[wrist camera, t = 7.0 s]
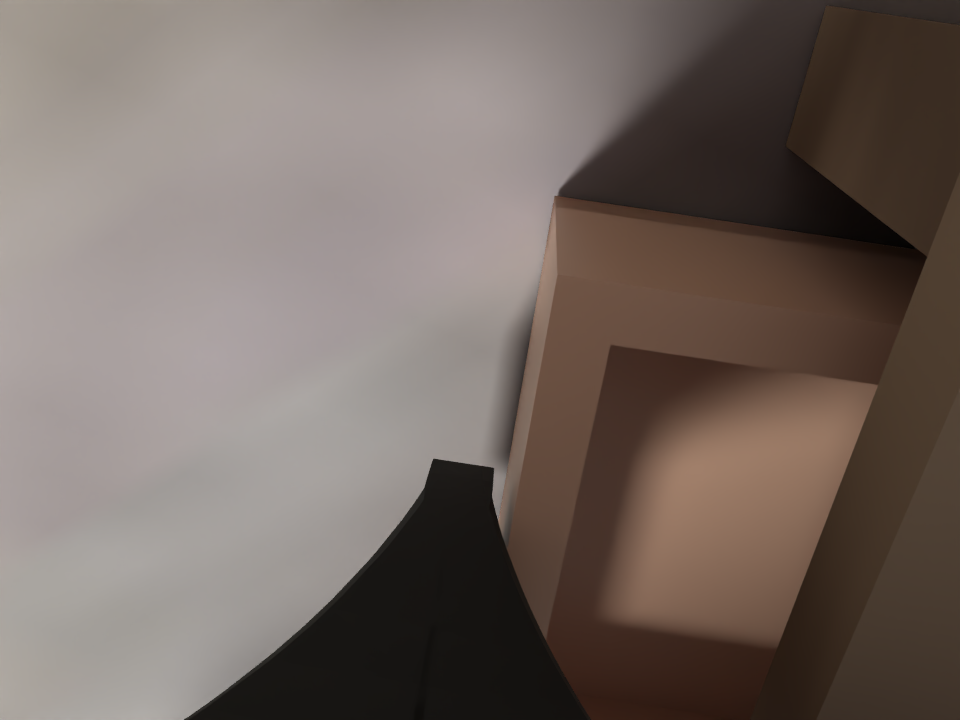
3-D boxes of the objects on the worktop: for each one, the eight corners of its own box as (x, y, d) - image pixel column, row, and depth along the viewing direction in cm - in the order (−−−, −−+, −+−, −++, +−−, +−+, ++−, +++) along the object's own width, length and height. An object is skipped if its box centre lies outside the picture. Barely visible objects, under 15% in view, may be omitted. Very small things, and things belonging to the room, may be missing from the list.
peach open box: (1088, 776, 13) (1215, 965, 11) (470, 681, 13) (453, 847, 11) (1389, 319, 10) (1677, 442, 7) (554, 195, 10) (557, 273, 8)
